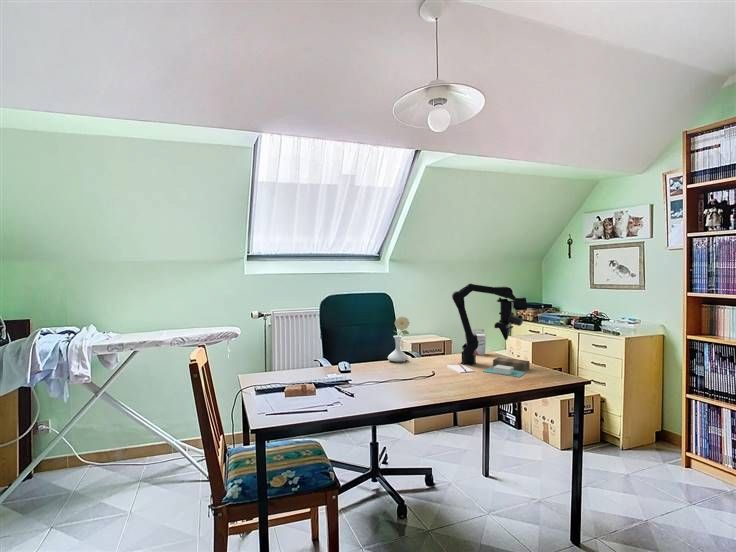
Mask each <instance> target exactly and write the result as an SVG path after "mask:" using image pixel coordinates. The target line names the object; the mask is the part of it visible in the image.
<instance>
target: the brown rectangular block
mask: <svg viewBox="0 0 736 552" xmlns="http://www.w3.org/2000/svg"><path fill="white" fill-rule="evenodd" d="M496 365H503V366H510V367H514V370H518V371H525V372H527V371H529V370H530V360H526V359H517V358H509V357H500V356H498V357H496V358H494V359H492V367H494V366H496Z"/></svg>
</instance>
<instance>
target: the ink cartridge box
mask: <svg viewBox="0 0 736 552" xmlns="http://www.w3.org/2000/svg"><path fill="white" fill-rule="evenodd" d="M471 330H472V333H473V334H476V335H477V340H478V342H479V343H478V348H477V349H476V350H475V351H474V352H475V355H476V356H486V348H487V347H486V345H487V344H486V340H487V339H486V336H487V335H486V334H485V329H484V328H471Z"/></svg>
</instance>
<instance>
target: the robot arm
mask: <svg viewBox="0 0 736 552" xmlns="http://www.w3.org/2000/svg"><path fill="white" fill-rule="evenodd" d="M472 292H476V293H482V294H483V293H484V294H491V295H496V296H499V297H498V299H497V300H496V303H500V311H499V312H498V313H499V314H498V315H499V316H500V319H499V321H496V322H495V323H494V327H493V328H494V329H499V331H500V333H501V336H503V338H504V341H508V339H509V335H510V332H511V330H512V329H513V328H514V326H522V324H523V323H524V317H523V315H521V314H519V315H518V316H517V315H514V312H513V311H512V309H513V310H514V311H520V312H521V311H527V310H528V303H527V298H526V297H516V296H515V295H514V294H513V293H514V291H513V289H512V288H511V287H507V286H488V285H481V284H475V283H468V284H466V285H465V286H464V287H462V288H461V289H459V290H458V291H453V292H452V294H451V299H452V300H453V303H454V304H455V306H456V309H457V311H458V315H459V318H460V320H461V324H462V327H463V331H464V337H465V339H464V341H465V343H464V344H463V345H462V346H461V348H462V351H461V362H459V363H460V364H461V365H468V366H473V365H475V364H476V363H477V362H476V360H477V358H476V357H477V355H475V352H474V351H475V350H476V349H477V348H478V343H479V342H478V340H477V335H476V334H473V333H472V330H471V329H472V327H471V324H470V320H469V317H468V314H467V311H466V305H465V297H468V295H469V294H470V293H472ZM501 297H502V298H501ZM508 299H509V300H508ZM513 325H514V326H513Z"/></svg>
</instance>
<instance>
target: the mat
mask: <svg viewBox="0 0 736 552" xmlns="http://www.w3.org/2000/svg"><path fill="white" fill-rule="evenodd" d="M482 372H483V373H488V374H495V375H501V376H507V377H508V376H509V377H514V378H515V377H516V378H521V377H522V376H524V375H525V374H526V373H527V371H526V372H525V371H518V370H514V372H513V373H511V374H510V375H509V374H502V373H495V372H493V366H490V367H487V368H486V369H484V370H483V371H482Z"/></svg>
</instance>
